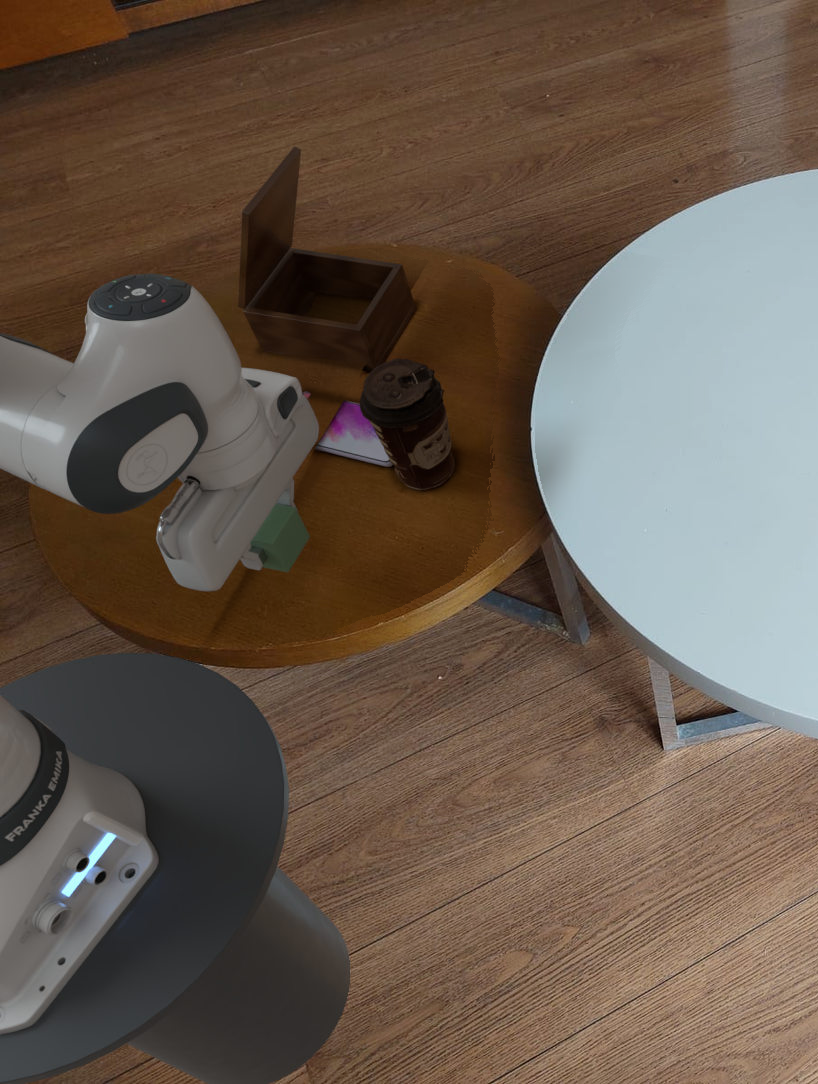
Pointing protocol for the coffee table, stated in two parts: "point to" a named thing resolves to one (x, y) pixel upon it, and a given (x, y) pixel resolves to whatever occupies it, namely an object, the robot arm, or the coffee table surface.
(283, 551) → the block
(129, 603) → the coffee table surface
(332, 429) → the purple white flat pieces
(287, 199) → the lid
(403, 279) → the chest
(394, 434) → the coffee cup
